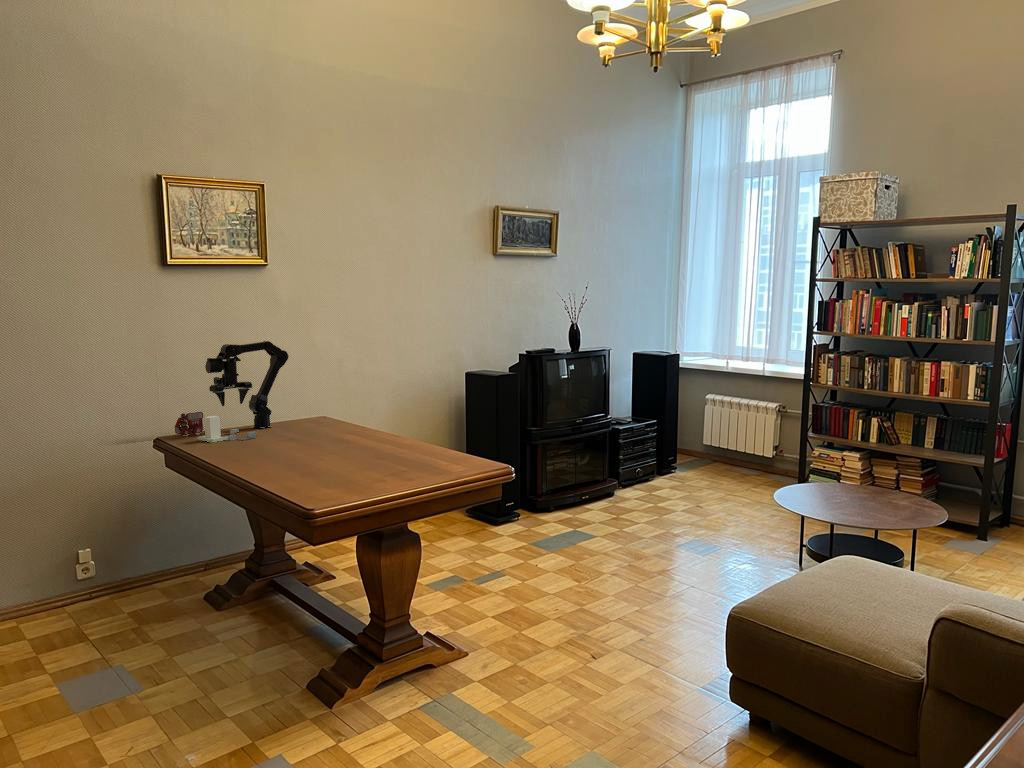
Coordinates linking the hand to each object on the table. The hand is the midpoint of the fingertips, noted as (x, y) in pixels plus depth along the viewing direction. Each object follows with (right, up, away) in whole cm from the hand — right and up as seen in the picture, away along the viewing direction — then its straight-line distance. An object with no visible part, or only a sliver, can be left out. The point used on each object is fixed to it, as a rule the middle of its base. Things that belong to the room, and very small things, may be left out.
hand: (232, 405), depth 347 cm
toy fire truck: (-17, -14, -5) cm, 23 cm away
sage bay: (-1, -15, -20) cm, 25 cm away
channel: (+5, -14, -12) cm, 19 cm away
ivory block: (-1, -15, -20) cm, 24 cm away
